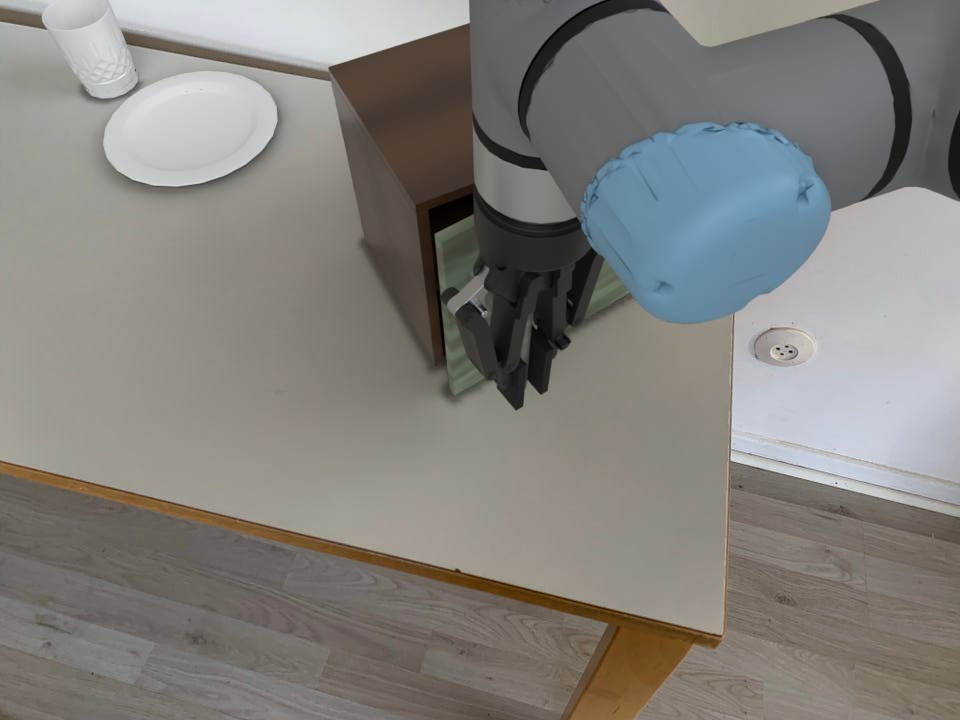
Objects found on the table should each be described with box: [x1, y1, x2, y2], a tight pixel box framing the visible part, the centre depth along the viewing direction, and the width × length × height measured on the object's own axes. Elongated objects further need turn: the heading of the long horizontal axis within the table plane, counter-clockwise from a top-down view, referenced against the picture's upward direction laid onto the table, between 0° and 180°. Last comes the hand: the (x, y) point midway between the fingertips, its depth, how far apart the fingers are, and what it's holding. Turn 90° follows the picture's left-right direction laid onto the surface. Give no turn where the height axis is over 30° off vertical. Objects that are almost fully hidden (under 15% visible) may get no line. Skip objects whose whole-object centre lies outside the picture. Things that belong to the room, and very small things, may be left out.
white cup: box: [41, 0, 139, 100], centre depth 91 cm, size 8×8×10 cm
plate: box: [102, 70, 279, 189], centre depth 89 cm, size 21×21×2 cm
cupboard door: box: [435, 214, 631, 396], centre depth 62 cm, size 7×22×22 cm, turn 124°
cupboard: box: [327, 22, 474, 367], centre depth 69 cm, size 18×22×22 cm
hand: (522, 389), depth 61 cm, fingers closed on cupboard door, 2 cm apart
